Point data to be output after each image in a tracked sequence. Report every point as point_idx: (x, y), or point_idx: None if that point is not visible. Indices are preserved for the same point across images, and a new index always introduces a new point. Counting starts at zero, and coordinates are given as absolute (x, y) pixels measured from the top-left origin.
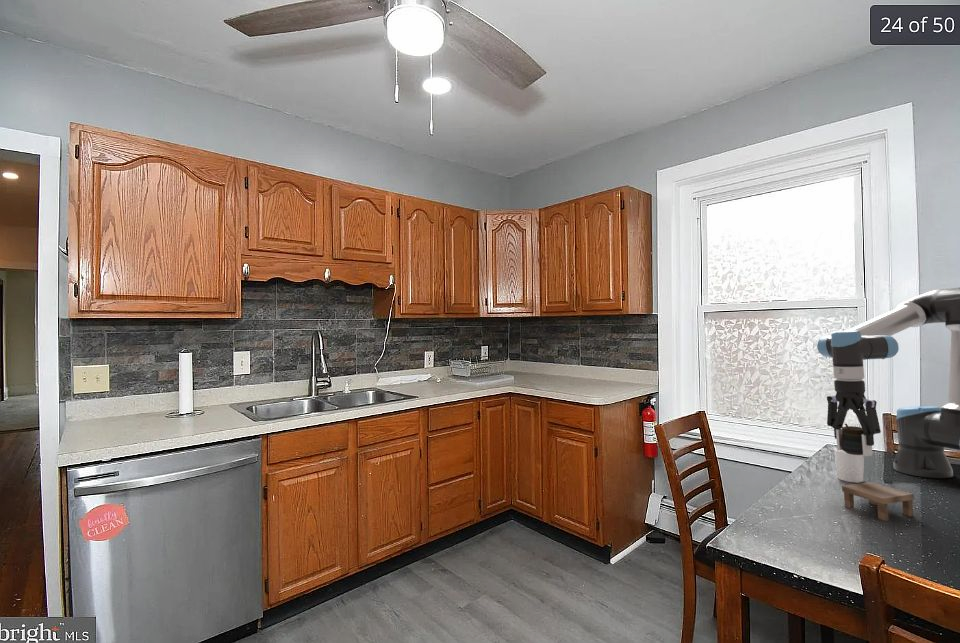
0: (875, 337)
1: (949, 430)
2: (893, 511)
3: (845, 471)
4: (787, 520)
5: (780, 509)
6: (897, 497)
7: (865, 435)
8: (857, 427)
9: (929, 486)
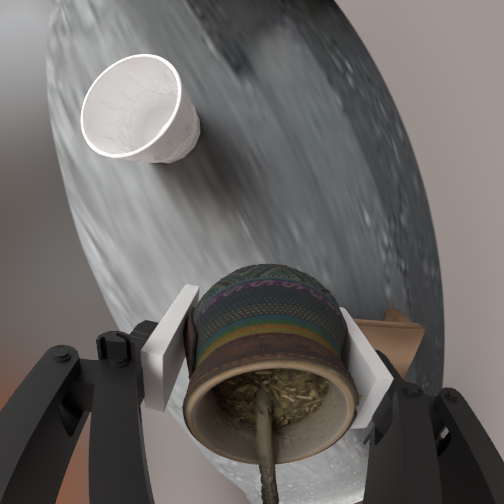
0: None
1: None
2: (366, 318)
3: (162, 160)
4: None
5: None
6: (403, 375)
7: (369, 416)
8: (273, 366)
9: (315, 28)
